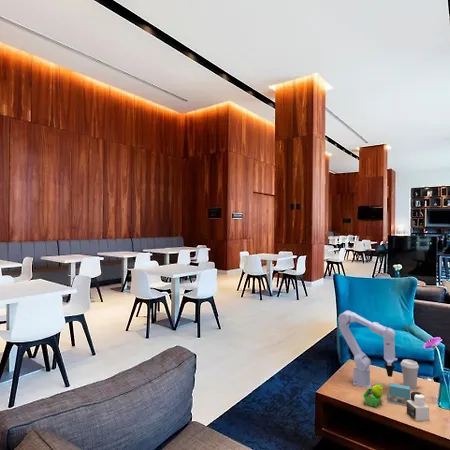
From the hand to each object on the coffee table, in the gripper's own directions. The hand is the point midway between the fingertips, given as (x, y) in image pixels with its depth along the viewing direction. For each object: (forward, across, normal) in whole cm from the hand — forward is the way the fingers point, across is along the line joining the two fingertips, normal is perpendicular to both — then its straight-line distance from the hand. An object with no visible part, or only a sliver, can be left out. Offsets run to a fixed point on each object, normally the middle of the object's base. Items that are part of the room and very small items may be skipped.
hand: (389, 373), depth 193 cm
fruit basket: (+11, -18, +8) cm, 22 cm away
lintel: (+7, -10, -5) cm, 13 cm away
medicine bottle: (+11, -23, -12) cm, 28 cm away
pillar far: (+10, -10, -7) cm, 16 cm away
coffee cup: (+11, +11, -10) cm, 19 cm away
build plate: (+10, -10, -4) cm, 15 cm away
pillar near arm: (+10, -10, -1) cm, 14 cm away
